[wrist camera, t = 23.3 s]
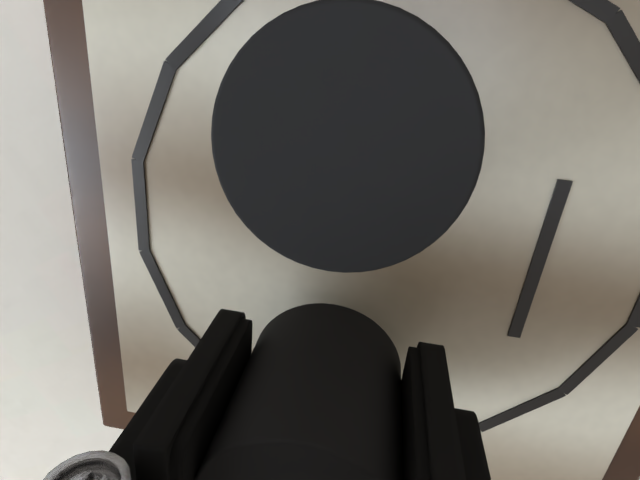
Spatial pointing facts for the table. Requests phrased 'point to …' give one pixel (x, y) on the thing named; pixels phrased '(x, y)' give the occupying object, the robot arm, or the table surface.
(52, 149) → the table surface
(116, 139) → the picture frame
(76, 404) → the table surface
